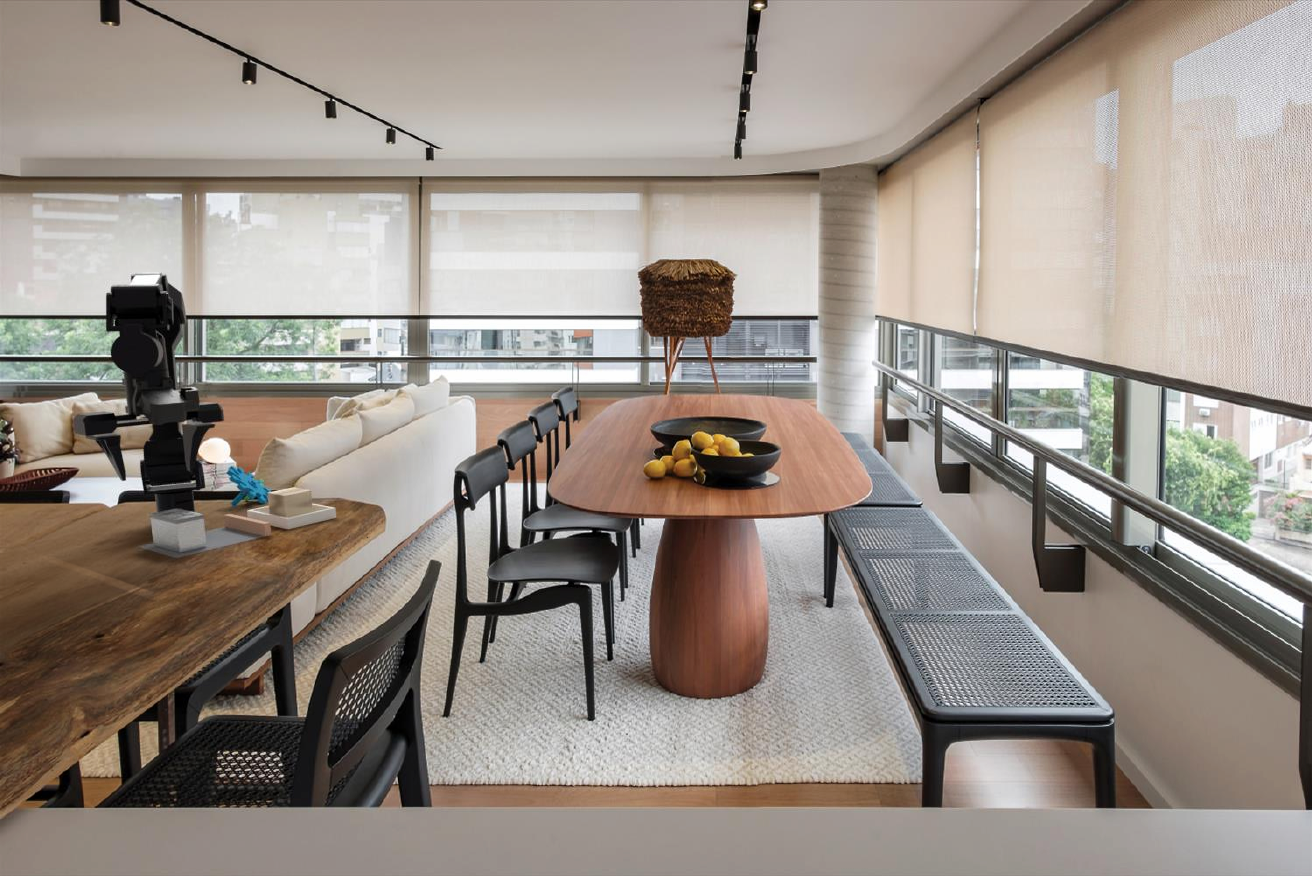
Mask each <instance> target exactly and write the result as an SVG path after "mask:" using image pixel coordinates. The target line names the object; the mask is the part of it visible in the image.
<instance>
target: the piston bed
mask: <svg viewBox="0 0 1312 876" xmlns="http://www.w3.org/2000/svg"><path fill="white" fill-rule="evenodd" d="M223 521H224V526H222V527H218V528H217V527H216V528H214V529H208V530H205V536H206V545H207V546H206V547H202V548H198V549H194V550H190V551H186V552H181V553H179V552H175V551H172V550H168V549H165V548H161V547H158V546H154V542H151V543H146V544H143V545H138V546H137V548H140V549H144V550H147V551H151V552H153V553H157V554H161V555H165V556H168V557H170V558H171V557H172V558H175V559H179V558H183V557H184V558H185V557H188V556H191V555H196V554H199V553H200V554H201V553H203V552H207V551H208V552H209V551H212V550H216V549H220V548H223V547H228V546H232V545H236V544H242V543H245V542H248V541H252V540H259V539H262V538H266V537H270V536H272V528H271V525H270V522H265V521H260V520H256V519H251V518H248V516H247V517H246V516H242V515H236V514H232V513H228V514H227V513H226V514H223Z"/></svg>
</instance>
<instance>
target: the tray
mask: <svg viewBox="0 0 1312 876" xmlns="http://www.w3.org/2000/svg"><path fill="white" fill-rule="evenodd" d="M312 507H313V512H312V513H307V514H303V515H299V516H295V517H290V518H286V517H282V516H277V515H272V514H269V505H266V506H262V507H258V508H252V509H249V510H247V509H246V513H247V514H246V515H247V518H251V519H256V520H260V521H265V522H270V526H272V527H277V528H281V529H285V530H291V529H296V528H299V527H300V528H301V527H304V526H307V525H311V524H315V523H320V522H324V521H328V520H332V519H336V518H337V511H336V507H333V506H328V505H323V504H317V503H312Z"/></svg>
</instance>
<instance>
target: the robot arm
mask: <svg viewBox="0 0 1312 876" xmlns="http://www.w3.org/2000/svg"><path fill="white" fill-rule="evenodd" d="M183 325H187V314H186V307H185V302H184V298H183V293H182V292H181V291H180V290H178V289H177V288H176V287H175V286H173V285H172V284H171V283H169V281H168V276H167V274H166V273H162V272H135V273H134V274H130V282H129V283H128V284H127V283H126V284H125V283H122V284H112V285H111V286H110V291H109V292H108V291H107V292H106V294H105V331H106V332H107V333H109V332H118V335H119V336H117V338H116V339H114V341H113V343H112V344H111V347H110V356H111V360H112V362H113V364H114V365H115V366H116V367H117V368H118V369H119V370H120V371H123V372H122V373H123V378H121V381H122V382H121V383H122V386H124V387H125V388H124V389H125V397H126V404H127V405H125V407H124V408H125V414H117V415H116V414H115V413H114V412H112V411H95V412H94V411H93V412H83V413H82V412H81V413H77V414H76V415H75V416H74V417H73V421H72V422H73V423H72V424H73V431H74V432H73V433H74V434H76V435H81V436H84V437H85V439H88V440H91V441H92V440H93V441H95V443H96V444H97V445H98V446H99V448H100V449H101V450H102V451H103V453H104V454H105V456H106V457H107V459H108V461H109V462H110V464H111V466H112V468H113V469H114V470H115V472H116V475H117V476H118V478H119V479H120V481H122V482H125V481H126V480H127V474H126V473H127V472H126V466H125V462H124V458H123V457H124V456H123V452H122V448H121V441H122V440H121V438H122V435H121V434H118V433H117V434H116V430H117V428H126V427H135V426H145V425H151V426H152V433H151V435H150V436H149V438H148V440H146V441H145V443H144V445H143V459H140V461H139V471H140V478H141V483H142V489H143V495H144V496H145V497H146V496H150V495H151V496H152V495H154V497H155V498H154V499H155V507H156V512H161V511H166V510H171V509H176V508H178V509H182V510H186V511H191V512H195V513H196V508H195V498H194V491H196V492H197V491H201V490H202V489H206V481H205V480H206V479H205V473H204V467H203V463H202V462H201V461H200V460H199V458H198V453H199V450H200V446H201V444H202V441H203V438H204V437H205V435H206V434H207V433H208V431H209V430H210V429H214V428H216V423H217V422H224V421H225V418H224V417H225V416H224V410H223V408H222V406H221V405H220V404H219V403H218V402H209V401H204V402H200V401H201V400H200V396H199V390H198V388H197V387H195V386H187V387H181V388H180V389H178V378H177V367H176V357H175V356H176V355H175V350H176V349H177V347H178V346H179V344H180V342H181V340H182V339H183V338H184V331H183V330H184V328H183ZM137 417H139V418H137ZM184 422H185V423H184ZM193 481H195V482H193Z"/></svg>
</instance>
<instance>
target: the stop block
mask: <svg viewBox="0 0 1312 876" xmlns="http://www.w3.org/2000/svg"><path fill="white" fill-rule="evenodd" d="M267 502H268V506H269V514H272V515H277V516H282V517H286V518H290V517H295V516H299V515H303V514H307V513H312V512H313V507H312V504H313V498H312V490H311V489H306V488H300V487H296V486H294V487H290V488H288V487H287V488H284V489H279V490H275V491H271V492H268V501H267Z"/></svg>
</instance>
